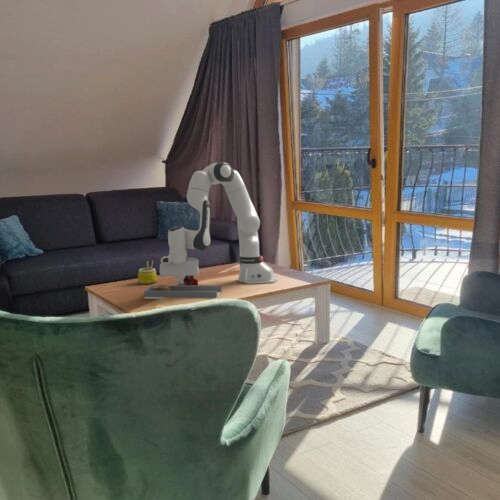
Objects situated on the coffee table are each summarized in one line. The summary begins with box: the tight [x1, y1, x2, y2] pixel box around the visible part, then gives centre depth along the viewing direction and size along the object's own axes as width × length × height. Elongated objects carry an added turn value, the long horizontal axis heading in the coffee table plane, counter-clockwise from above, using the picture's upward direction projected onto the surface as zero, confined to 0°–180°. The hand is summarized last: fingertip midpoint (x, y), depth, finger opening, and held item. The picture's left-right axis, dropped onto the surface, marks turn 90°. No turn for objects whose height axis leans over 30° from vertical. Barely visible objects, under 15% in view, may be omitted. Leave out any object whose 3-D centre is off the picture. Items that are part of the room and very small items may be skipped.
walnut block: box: [152, 284, 171, 291], centre depth 299 cm, size 8×6×4 cm
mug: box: [137, 260, 158, 285], centre depth 329 cm, size 13×11×12 cm
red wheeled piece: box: [181, 276, 199, 286], centre depth 317 cm, size 7×12×10 cm, turn 24°
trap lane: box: [143, 284, 222, 300], centre depth 297 cm, size 38×12×4 cm, turn 81°
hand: (180, 283), depth 296 cm, fingers closed
